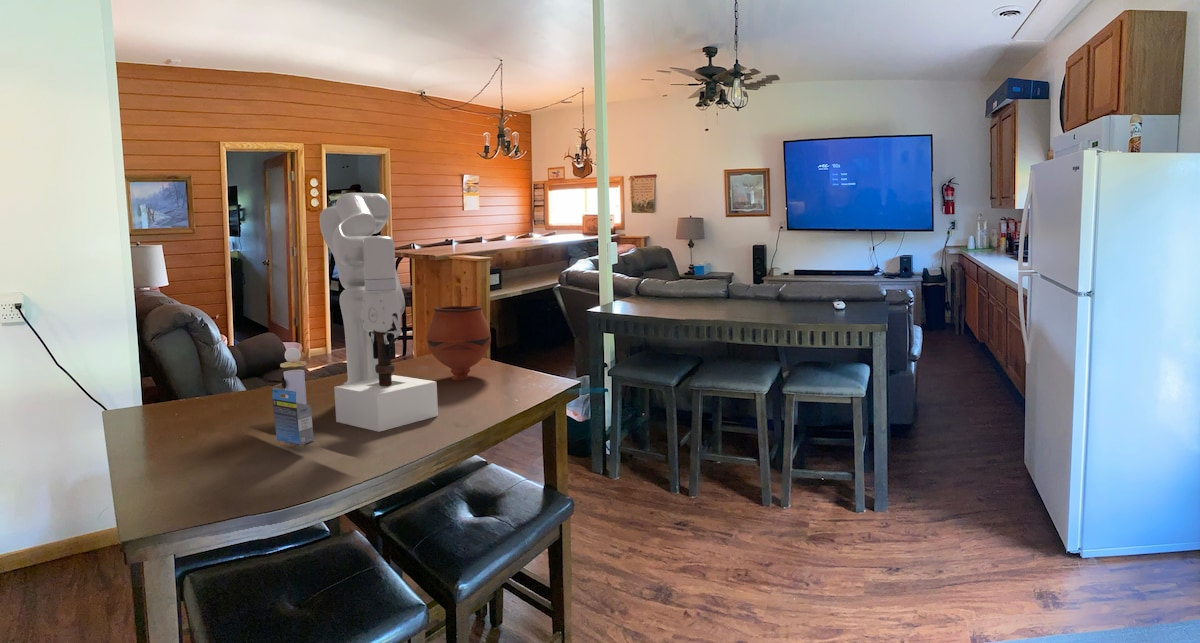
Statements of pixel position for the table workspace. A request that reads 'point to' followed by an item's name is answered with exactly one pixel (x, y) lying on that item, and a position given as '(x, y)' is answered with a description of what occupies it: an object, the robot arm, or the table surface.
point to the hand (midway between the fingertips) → (384, 358)
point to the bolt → (383, 362)
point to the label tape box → (292, 418)
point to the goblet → (459, 338)
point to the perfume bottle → (294, 375)
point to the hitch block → (386, 403)
